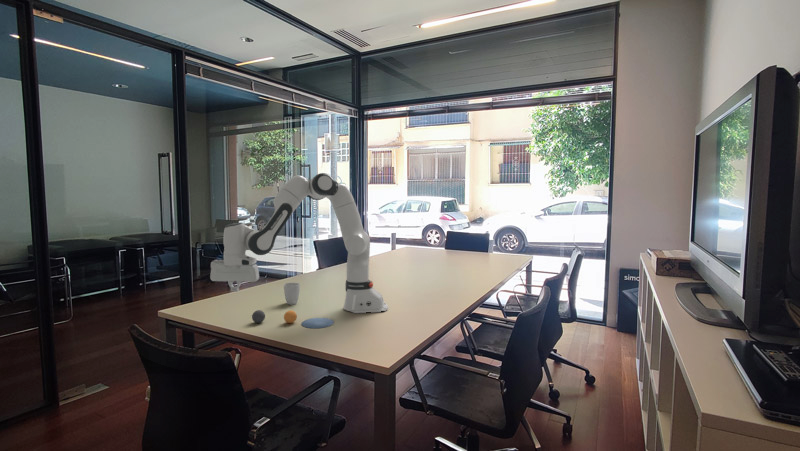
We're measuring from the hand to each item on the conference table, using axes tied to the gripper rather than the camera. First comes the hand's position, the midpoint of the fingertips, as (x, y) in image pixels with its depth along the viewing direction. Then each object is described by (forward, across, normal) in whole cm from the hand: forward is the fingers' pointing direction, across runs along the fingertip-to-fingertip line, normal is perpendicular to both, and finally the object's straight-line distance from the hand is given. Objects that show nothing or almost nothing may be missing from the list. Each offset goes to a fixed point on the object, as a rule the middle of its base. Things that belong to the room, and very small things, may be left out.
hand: (235, 291), depth 173 cm
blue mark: (+14, +36, 0) cm, 39 cm away
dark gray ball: (+11, +10, 0) cm, 15 cm away
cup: (+14, +17, +32) cm, 39 cm away
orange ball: (+11, +24, 0) cm, 27 cm away
